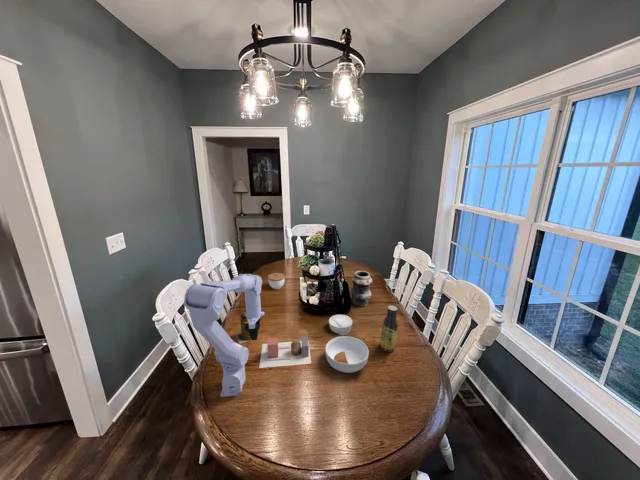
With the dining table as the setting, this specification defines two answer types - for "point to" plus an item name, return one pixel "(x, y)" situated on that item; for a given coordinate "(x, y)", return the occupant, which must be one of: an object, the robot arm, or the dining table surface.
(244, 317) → the condiment
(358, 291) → the apothecary jar
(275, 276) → the lidded jar
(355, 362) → the cereal bowl
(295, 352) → the walnut
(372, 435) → the dining table surface
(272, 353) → the pinkish red block
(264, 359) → the press base
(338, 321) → the ramekin
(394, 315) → the sauce bottle
